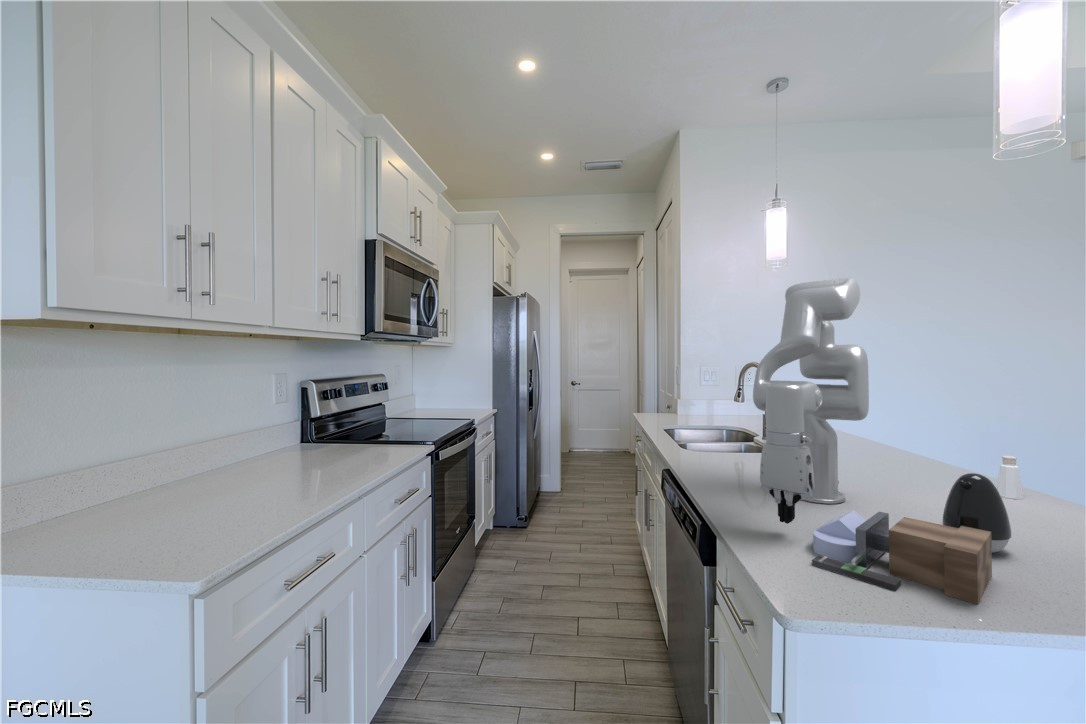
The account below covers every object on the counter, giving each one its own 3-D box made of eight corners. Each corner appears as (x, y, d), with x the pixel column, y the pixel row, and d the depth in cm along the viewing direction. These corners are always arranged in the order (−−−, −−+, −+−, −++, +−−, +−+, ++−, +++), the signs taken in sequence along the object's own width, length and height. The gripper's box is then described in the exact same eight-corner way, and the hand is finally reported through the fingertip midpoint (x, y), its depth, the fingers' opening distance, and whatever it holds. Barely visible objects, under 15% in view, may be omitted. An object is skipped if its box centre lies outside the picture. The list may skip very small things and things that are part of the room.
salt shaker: (991, 492, 128) (990, 453, 128) (1015, 494, 127) (1015, 454, 127) (1003, 498, 123) (1003, 457, 123) (1029, 500, 122) (1028, 458, 121)
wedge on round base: (830, 535, 101) (806, 552, 93) (829, 505, 101) (805, 519, 93) (879, 548, 94) (857, 567, 86) (878, 515, 94) (857, 531, 86)
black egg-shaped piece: (931, 543, 96) (930, 471, 95) (959, 534, 100) (957, 465, 100) (994, 563, 86) (993, 482, 86) (1022, 552, 90) (1021, 476, 90)
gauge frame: (846, 539, 99) (846, 502, 99) (992, 576, 81) (991, 531, 81) (812, 564, 87) (811, 523, 87) (972, 615, 69) (971, 562, 69)
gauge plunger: (879, 545, 94) (879, 511, 94) (946, 562, 86) (945, 525, 86) (848, 572, 83) (847, 533, 83) (921, 594, 75) (920, 552, 75)
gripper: (829, 441, 98) (830, 526, 98) (759, 433, 110) (761, 509, 110) (814, 446, 93) (816, 535, 93) (744, 437, 105) (745, 516, 105)
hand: (786, 521), depth 102 cm, fingers closed
